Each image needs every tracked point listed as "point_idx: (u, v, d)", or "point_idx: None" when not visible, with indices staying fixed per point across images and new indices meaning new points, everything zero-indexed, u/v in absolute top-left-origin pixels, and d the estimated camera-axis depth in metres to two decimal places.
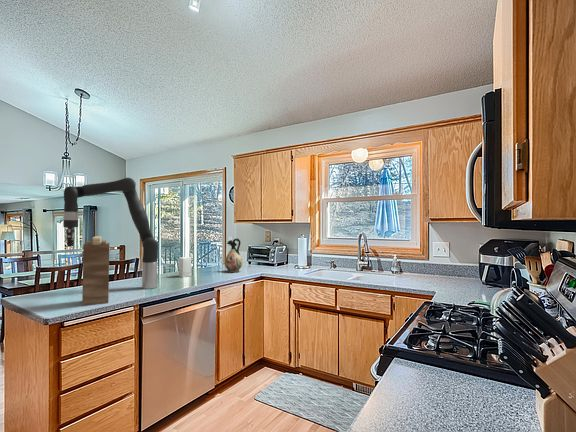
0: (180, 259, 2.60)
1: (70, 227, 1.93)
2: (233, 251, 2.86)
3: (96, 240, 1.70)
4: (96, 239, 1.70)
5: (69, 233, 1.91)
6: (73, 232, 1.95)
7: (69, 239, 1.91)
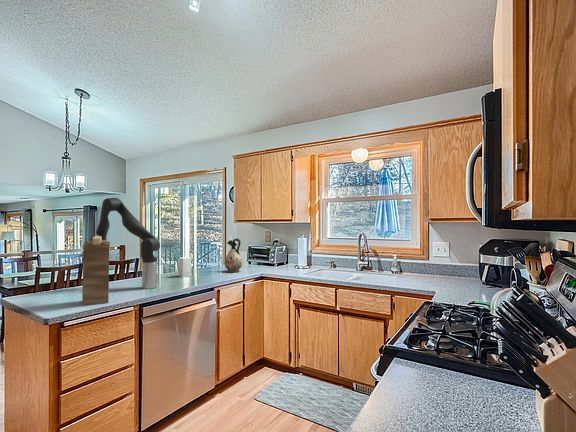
0: (180, 259, 2.60)
1: None
2: (233, 251, 2.86)
3: (96, 240, 1.70)
4: (96, 239, 1.70)
5: None
6: None
7: None
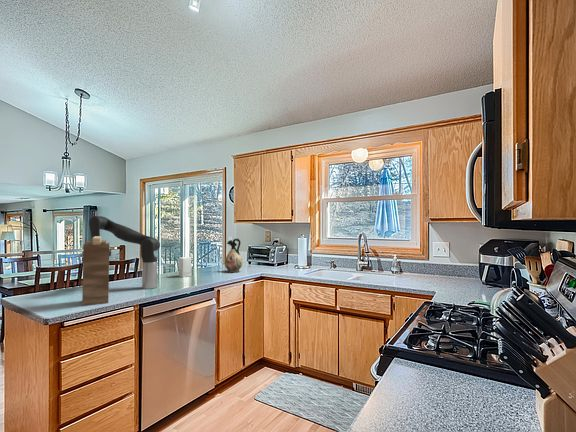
0: (180, 259, 2.60)
1: None
2: (233, 251, 2.86)
3: (96, 240, 1.70)
4: (96, 239, 1.70)
5: None
6: None
7: None
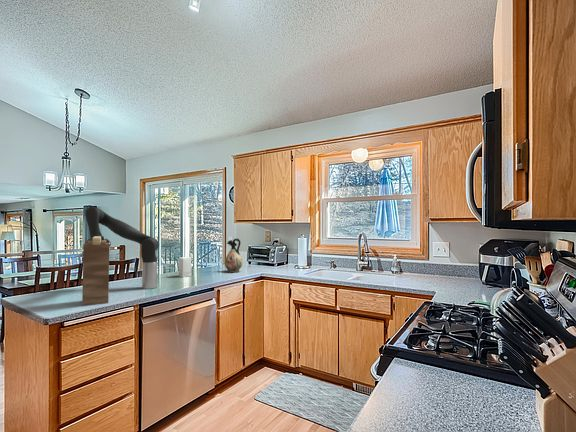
0: (180, 259, 2.60)
1: None
2: (233, 251, 2.86)
3: (96, 240, 1.70)
4: (96, 239, 1.70)
5: None
6: None
7: (89, 240, 1.88)
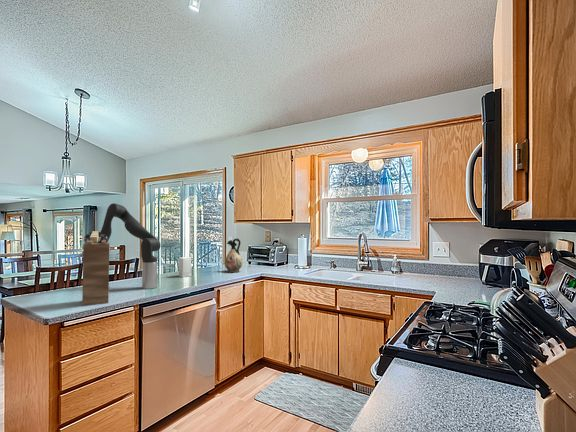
0: (180, 259, 2.60)
1: None
2: (233, 251, 2.86)
3: (93, 239, 1.88)
4: (93, 238, 1.88)
5: (85, 237, 2.07)
6: None
7: (88, 235, 2.06)
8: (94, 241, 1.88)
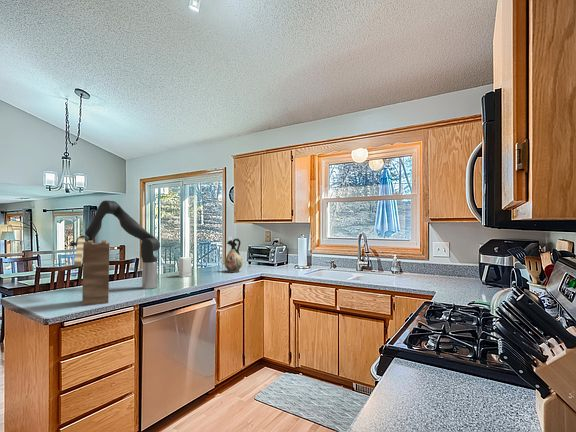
0: (180, 259, 2.60)
1: None
2: (233, 251, 2.86)
3: (77, 263, 1.86)
4: (77, 262, 1.86)
5: (70, 244, 2.04)
6: None
7: (73, 244, 2.02)
8: (78, 265, 1.87)
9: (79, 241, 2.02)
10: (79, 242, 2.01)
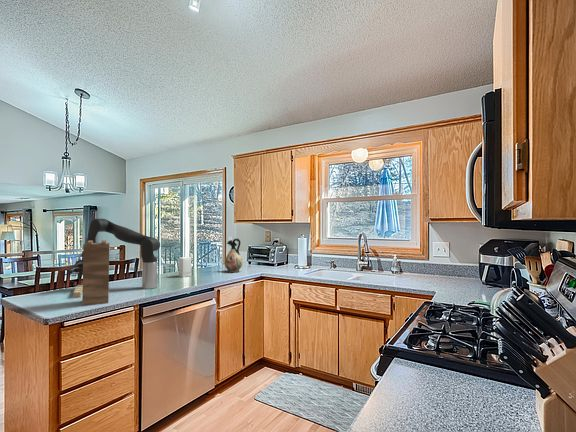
0: (180, 259, 2.60)
1: None
2: (233, 251, 2.86)
3: (77, 294, 1.87)
4: (77, 293, 1.87)
5: None
6: (76, 267, 2.06)
7: (68, 271, 2.01)
8: (77, 296, 1.87)
9: (78, 285, 2.06)
10: (78, 286, 2.05)
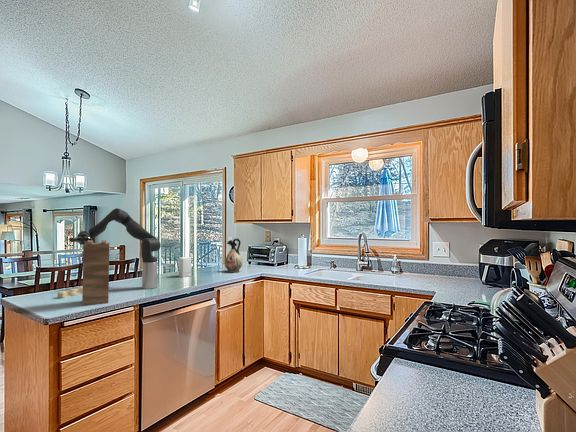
0: (180, 259, 2.60)
1: None
2: (233, 251, 2.86)
3: (60, 294, 1.86)
4: (60, 294, 1.86)
5: None
6: (78, 237, 2.18)
7: (71, 239, 2.13)
8: (60, 297, 1.86)
9: None
10: None
